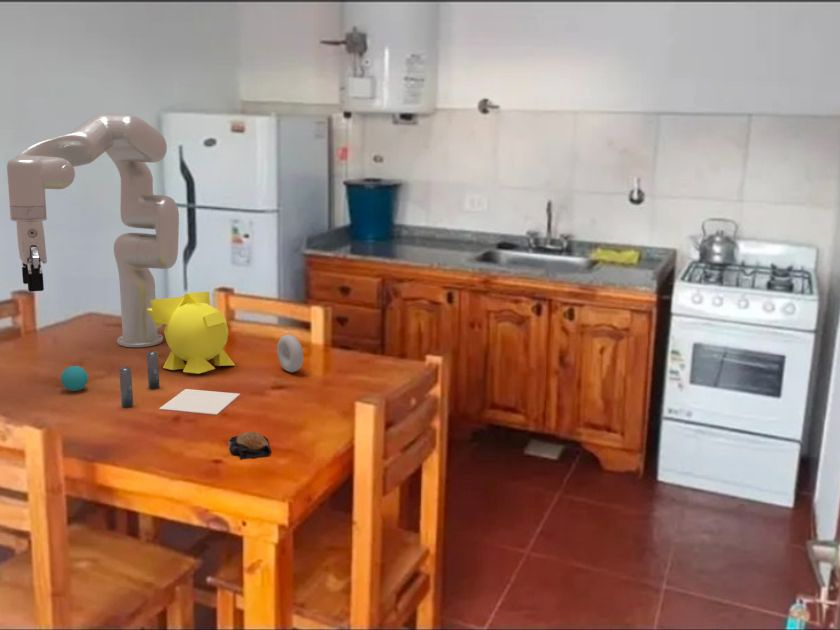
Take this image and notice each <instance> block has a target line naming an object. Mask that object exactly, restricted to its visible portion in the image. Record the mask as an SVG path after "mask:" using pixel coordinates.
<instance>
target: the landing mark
mask: <svg viewBox="0 0 840 630" xmlns="http://www.w3.org/2000/svg"><path fill="white" fill-rule="evenodd" d="M240 395H241V393H236V392H226V391H225V392H223V391H212V390H211V391H210V390H202V389H201V390H200V389H189V388H185V389H183V390H182V391H181V392H179V393H177V394H176V395H175V396H174V397H173V398H172V399H169V401H167V402H166V403H165V404H163V405H162V406H160V407H159V408H158V410H161V411H163V410H164V411H170V412H171V411H172V412H183V413H192V414H193V413H194V414H202V415H203V414H205V415H214V416H215V415H216V416H217V415H218V414H220V413H221V412H222V411H223V410H224V409H226V408H227V407H228V406H229V405H230V404H231V403H232V402H233V401H235V400H236V399H237V398H238V397H239V396H240Z"/></svg>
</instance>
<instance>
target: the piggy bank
mask: <svg viewBox="0 0 840 630" xmlns="http://www.w3.org/2000/svg"><path fill="white" fill-rule="evenodd" d="M210 298H211V297H210V292H209V291H201V292H200V291H199V292H198V291H196V292H195V291H193V292H186V293H185V294H184V295H183V296H176V297H175V296H174V297H167V298H158V299H157V298H156V299H154V300H151V305H152V308H149V309H147V311H148V312H149V314H150V316H151V318H152V319H153V321H154V323H155V324H156V326H157V327H159V326H161V325H162V326H163V325H165V327H164V329H163V332H164V338H165V342H166V344H167V345H168V346H167V347H169V349H170V353H169V355H168V356H167V358H166V361H165V363H164V365H163V367H162V368H163V369H167V370H171V371H175V370H183V371H182V372H183V373H189V374H190V373H191V374H197V375H198V374H201V373H206V372H208V371H212V370H215V369H216V368H215V366H217V367H221V366H224V367H225V366H236V364H235V363H234V362H233V360H232V359H231V357H230V356H229V355H228V354H227V352H226V351H225V350H224V347H225V346H226V344H227V342H228V336H229V332H230V331H229V327H228V324H227V320H226V317H225V315H224V313H223V311H220V310H219V309H217V308H216V307H214V306H212V305H211V299H210ZM162 326H161V327H162ZM212 359H213V362H214V363H213V364H214V365H212V363H210V362H209V360H212ZM184 361H185V362H186V363H185V362H184Z"/></svg>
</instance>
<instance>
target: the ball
mask: <svg viewBox="0 0 840 630" xmlns="http://www.w3.org/2000/svg"><path fill="white" fill-rule="evenodd" d="M60 377H61V378H60V381H61V384H62V386H63V387H64V388H65V389H66V390H67V391H70V392H71V391H72V392H77V391H80V390H83V389H84V388H85V387H86V385H88V380H89V376H88V372H87V371H86V370H85V369H84V368H83V367H81V366H78V365H72V366H71V365H70V366H68V367H67V368H65V369H64V370H63V371H62V373H61V376H60Z"/></svg>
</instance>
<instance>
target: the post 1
mask: <svg viewBox="0 0 840 630" xmlns="http://www.w3.org/2000/svg"><path fill="white" fill-rule="evenodd" d="M118 370H119V386H120V402H121V403H120V405H121V406H120V407H122V408H125V409H127V408H132V407H133V406H134V393H133V392H134V391H133V373H132V366H122V367H119V369H118Z"/></svg>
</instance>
